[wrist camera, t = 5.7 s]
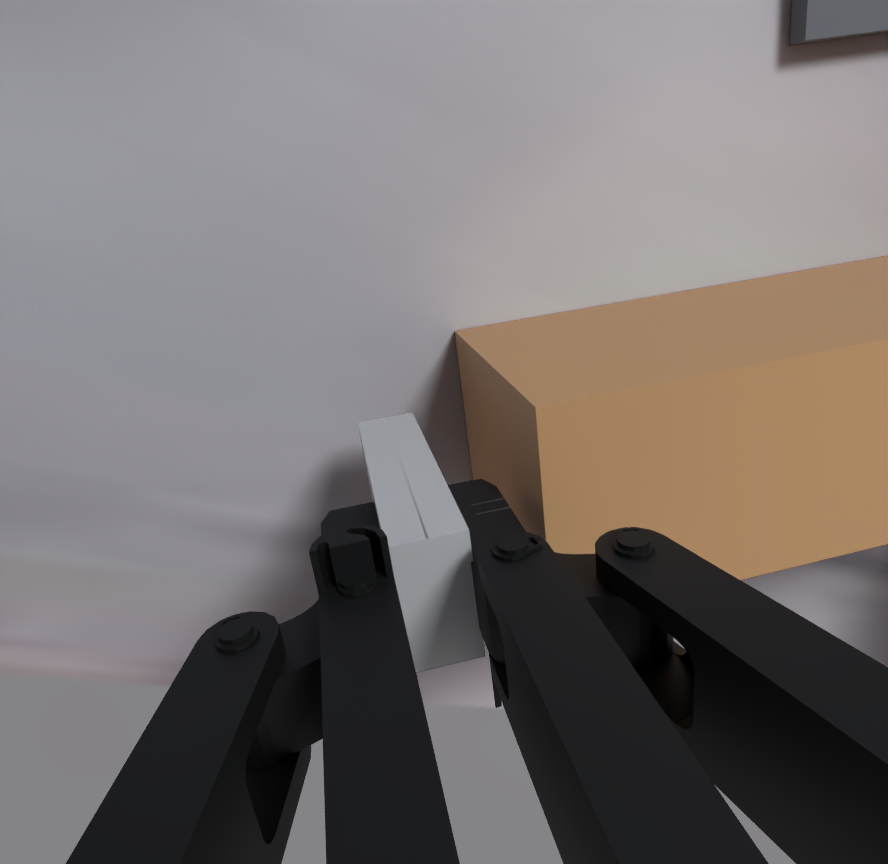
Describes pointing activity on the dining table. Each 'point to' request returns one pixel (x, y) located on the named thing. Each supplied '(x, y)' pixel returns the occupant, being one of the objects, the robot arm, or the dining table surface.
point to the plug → (695, 418)
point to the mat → (836, 19)
